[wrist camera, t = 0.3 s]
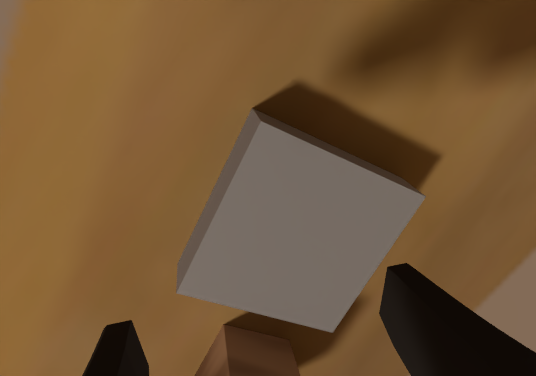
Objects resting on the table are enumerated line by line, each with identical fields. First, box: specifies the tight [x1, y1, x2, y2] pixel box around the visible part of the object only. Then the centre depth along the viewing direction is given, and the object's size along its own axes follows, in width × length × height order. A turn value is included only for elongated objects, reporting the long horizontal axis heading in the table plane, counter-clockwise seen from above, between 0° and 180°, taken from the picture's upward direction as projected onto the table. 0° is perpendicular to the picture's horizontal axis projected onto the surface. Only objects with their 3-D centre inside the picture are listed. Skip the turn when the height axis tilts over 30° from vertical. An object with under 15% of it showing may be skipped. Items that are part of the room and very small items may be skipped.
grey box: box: [176, 108, 426, 333], centre depth 21 cm, size 10×10×3 cm
